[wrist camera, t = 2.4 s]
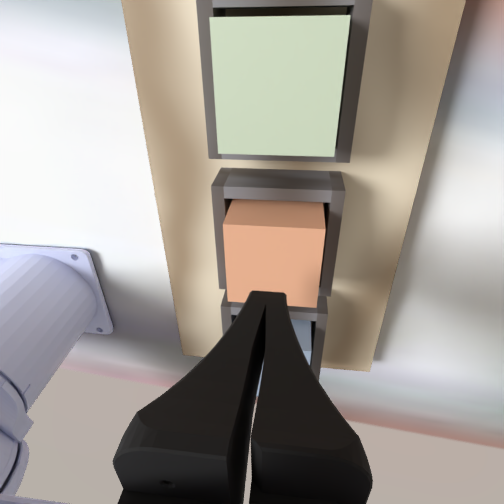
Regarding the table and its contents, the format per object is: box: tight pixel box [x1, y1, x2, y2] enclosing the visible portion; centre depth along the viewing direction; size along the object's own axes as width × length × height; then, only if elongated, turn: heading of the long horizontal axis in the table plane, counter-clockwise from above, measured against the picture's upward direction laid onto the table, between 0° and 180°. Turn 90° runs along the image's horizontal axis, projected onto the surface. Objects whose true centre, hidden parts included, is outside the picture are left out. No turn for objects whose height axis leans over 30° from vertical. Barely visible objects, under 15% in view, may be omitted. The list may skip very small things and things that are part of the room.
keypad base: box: [121, 0, 466, 381], centre depth 20 cm, size 14×24×4 cm, turn 0°
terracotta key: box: [223, 199, 326, 308], centre depth 18 cm, size 4×4×3 cm
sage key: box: [209, 15, 351, 157], centre depth 14 cm, size 4×4×3 cm
